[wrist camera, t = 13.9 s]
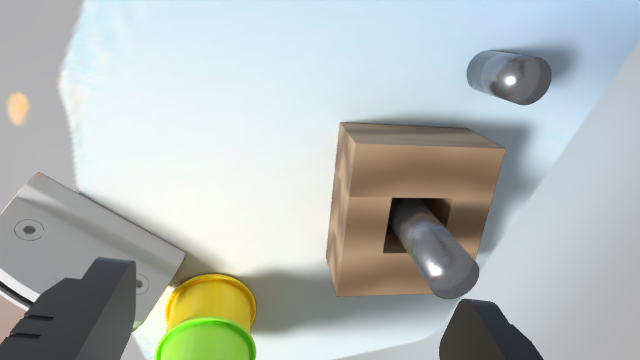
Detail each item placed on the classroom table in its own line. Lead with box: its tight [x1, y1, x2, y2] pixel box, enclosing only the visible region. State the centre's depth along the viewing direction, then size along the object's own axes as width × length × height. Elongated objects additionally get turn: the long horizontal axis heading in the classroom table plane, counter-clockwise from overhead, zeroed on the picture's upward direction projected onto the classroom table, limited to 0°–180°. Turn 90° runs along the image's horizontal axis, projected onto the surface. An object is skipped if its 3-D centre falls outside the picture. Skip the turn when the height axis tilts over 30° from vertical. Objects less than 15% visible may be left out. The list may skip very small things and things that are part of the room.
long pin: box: [388, 197, 479, 299], centre depth 36 cm, size 4×4×15 cm
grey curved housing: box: [0, 172, 186, 332], centre depth 37 cm, size 17×5×10 cm, turn 50°
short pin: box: [467, 50, 551, 105], centre depth 36 cm, size 4×4×7 cm
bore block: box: [326, 123, 506, 296], centre depth 40 cm, size 16×14×7 cm
